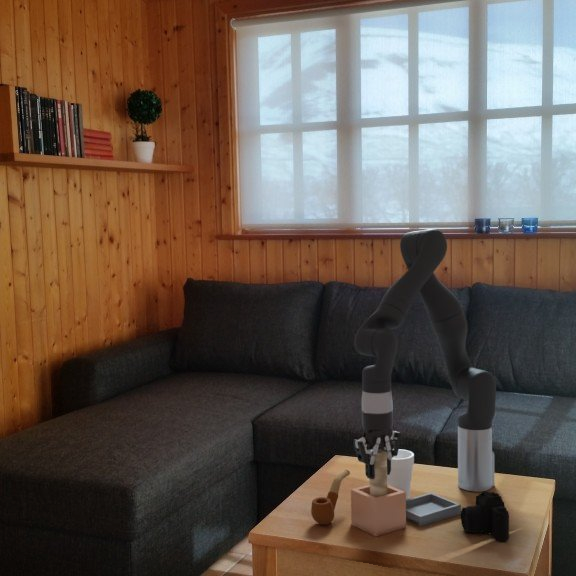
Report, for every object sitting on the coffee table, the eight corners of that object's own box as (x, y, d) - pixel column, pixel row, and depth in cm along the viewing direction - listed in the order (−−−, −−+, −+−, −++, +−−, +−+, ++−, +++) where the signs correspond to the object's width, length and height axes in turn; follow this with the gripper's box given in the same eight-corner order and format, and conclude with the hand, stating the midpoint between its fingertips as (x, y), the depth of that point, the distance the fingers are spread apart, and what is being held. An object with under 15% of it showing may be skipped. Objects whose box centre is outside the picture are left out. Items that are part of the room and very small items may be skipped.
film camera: (454, 520, 200) (453, 485, 200) (491, 517, 201) (491, 483, 201) (473, 544, 185) (473, 507, 185) (513, 541, 186) (514, 504, 185)
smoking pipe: (332, 531, 196) (310, 529, 198) (353, 487, 212) (332, 486, 214) (328, 507, 194) (305, 505, 196) (349, 465, 210) (328, 464, 212)
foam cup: (413, 508, 208) (412, 460, 207) (378, 506, 210) (377, 458, 209) (414, 495, 218) (414, 449, 217) (381, 494, 220) (380, 448, 218)
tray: (431, 501, 213) (431, 492, 213) (461, 513, 204) (461, 504, 204) (391, 513, 205) (391, 503, 205) (420, 526, 196) (420, 516, 196)
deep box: (381, 515, 204) (380, 481, 203) (406, 527, 196) (405, 492, 195) (351, 524, 199) (350, 489, 198) (375, 536, 191) (375, 500, 190)
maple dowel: (380, 509, 200) (379, 447, 199) (391, 514, 196) (390, 451, 195) (366, 513, 198) (365, 451, 196) (377, 519, 194) (376, 455, 193)
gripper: (389, 401, 202) (390, 466, 203) (344, 410, 194) (346, 478, 195) (409, 406, 195) (410, 474, 197) (363, 416, 188) (365, 486, 189)
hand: (378, 475), depth 196 cm, fingers closed on maple dowel, 4 cm apart
